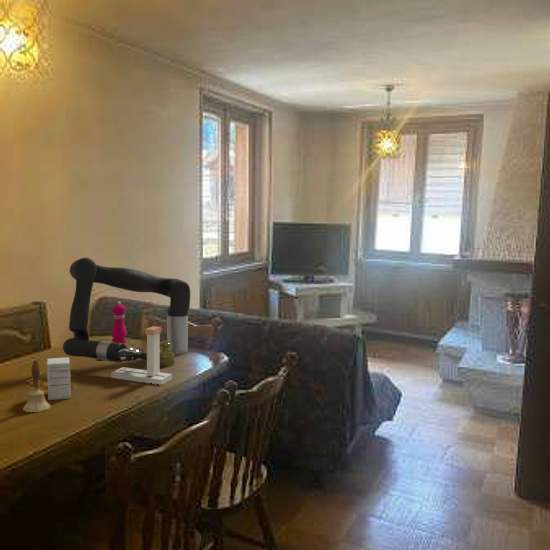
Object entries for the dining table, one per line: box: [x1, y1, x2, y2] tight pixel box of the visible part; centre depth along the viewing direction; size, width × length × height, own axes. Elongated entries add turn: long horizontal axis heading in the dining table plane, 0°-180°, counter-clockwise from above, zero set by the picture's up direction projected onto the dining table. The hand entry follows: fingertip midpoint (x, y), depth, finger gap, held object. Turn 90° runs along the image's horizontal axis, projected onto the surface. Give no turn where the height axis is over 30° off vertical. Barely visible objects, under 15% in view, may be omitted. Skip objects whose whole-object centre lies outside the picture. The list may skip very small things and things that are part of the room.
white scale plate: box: [110, 366, 173, 386], centre depth 215 cm, size 8×22×2 cm, turn 72°
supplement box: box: [46, 357, 72, 401], centre depth 193 cm, size 7×7×13 cm
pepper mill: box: [111, 300, 128, 344], centre depth 266 cm, size 7×7×20 cm
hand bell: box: [22, 359, 51, 414], centre depth 180 cm, size 8×8×16 cm
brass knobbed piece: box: [160, 339, 176, 367], centre depth 234 cm, size 7×7×10 cm
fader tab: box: [144, 325, 162, 376], centre depth 212 cm, size 6×4×18 cm, turn 162°
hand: (150, 356), depth 213 cm, fingers closed
